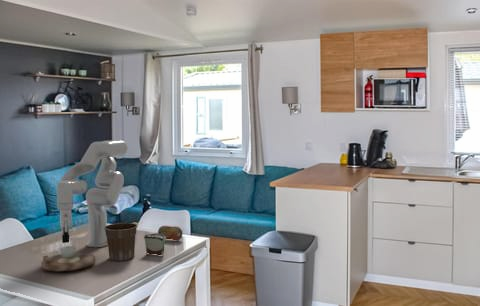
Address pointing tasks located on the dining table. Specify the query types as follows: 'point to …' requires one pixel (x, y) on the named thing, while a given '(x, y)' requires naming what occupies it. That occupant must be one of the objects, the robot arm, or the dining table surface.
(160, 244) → the food container
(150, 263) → the dining table surface
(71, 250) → the sage green rounded cylinder
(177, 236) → the tin
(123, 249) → the plant pot
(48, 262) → the disc
